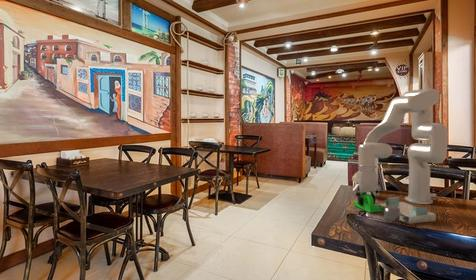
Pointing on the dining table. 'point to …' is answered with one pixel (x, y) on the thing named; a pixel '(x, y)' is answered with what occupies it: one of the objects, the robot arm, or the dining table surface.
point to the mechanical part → (368, 204)
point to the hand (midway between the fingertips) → (366, 203)
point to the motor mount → (405, 212)
